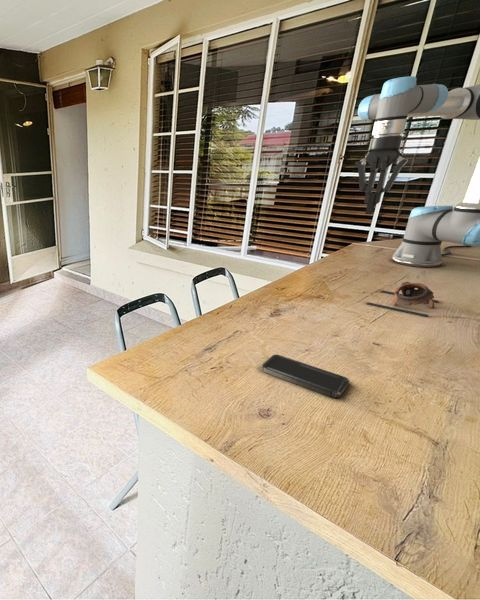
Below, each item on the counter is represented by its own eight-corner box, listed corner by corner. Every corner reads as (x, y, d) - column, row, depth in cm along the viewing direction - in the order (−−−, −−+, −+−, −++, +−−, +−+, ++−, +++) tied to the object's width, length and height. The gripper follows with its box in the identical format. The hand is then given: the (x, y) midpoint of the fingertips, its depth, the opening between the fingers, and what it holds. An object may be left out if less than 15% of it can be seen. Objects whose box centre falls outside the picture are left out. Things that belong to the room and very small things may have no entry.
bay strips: (381, 291, 119) (382, 290, 119) (438, 301, 109) (438, 300, 108) (366, 304, 110) (366, 303, 110) (427, 317, 99) (427, 316, 99)
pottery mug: (444, 313, 102) (441, 293, 98) (403, 323, 106) (399, 304, 103) (420, 290, 111) (416, 270, 108) (384, 300, 115) (379, 281, 112)
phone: (339, 395, 68) (260, 366, 79) (338, 400, 68) (259, 370, 79) (351, 378, 73) (275, 353, 83) (349, 383, 73) (274, 357, 84)
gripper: (357, 138, 110) (342, 214, 119) (412, 133, 101) (391, 216, 109) (364, 137, 115) (349, 211, 123) (417, 133, 105) (397, 213, 114)
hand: (369, 213), depth 116 cm, fingers closed
